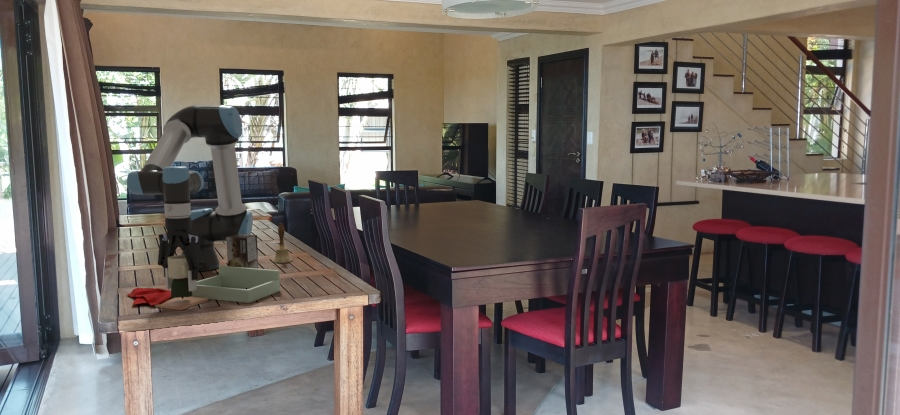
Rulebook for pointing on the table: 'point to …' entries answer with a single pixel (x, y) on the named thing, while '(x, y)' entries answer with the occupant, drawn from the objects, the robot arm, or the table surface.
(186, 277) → the character mug
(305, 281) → the table surface
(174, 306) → the terracotta tile
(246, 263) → the coffee box
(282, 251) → the hand bell
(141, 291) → the cloth
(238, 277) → the frame
